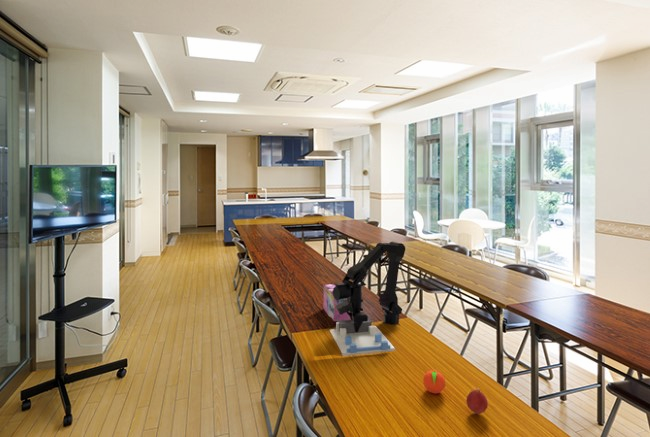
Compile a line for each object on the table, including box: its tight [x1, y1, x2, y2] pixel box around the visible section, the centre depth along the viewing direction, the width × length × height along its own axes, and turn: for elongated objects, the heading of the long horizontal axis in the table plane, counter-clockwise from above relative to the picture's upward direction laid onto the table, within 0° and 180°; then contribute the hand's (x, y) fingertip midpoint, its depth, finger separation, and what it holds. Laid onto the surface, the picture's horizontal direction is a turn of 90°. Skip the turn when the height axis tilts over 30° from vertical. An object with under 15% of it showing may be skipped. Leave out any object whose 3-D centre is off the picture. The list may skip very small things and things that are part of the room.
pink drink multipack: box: [323, 282, 350, 322], centre depth 195 cm, size 24×8×14 cm, turn 14°
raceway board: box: [329, 321, 396, 357], centre depth 164 cm, size 22×25×4 cm
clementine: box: [422, 369, 446, 394], centre depth 124 cm, size 8×7×7 cm
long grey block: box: [338, 318, 373, 334], centre depth 172 cm, size 14×4×4 cm, turn 101°
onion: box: [466, 388, 489, 416], centre depth 113 cm, size 6×6×8 cm
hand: (355, 329), depth 172 cm, fingers closed on long grey block, 4 cm apart
